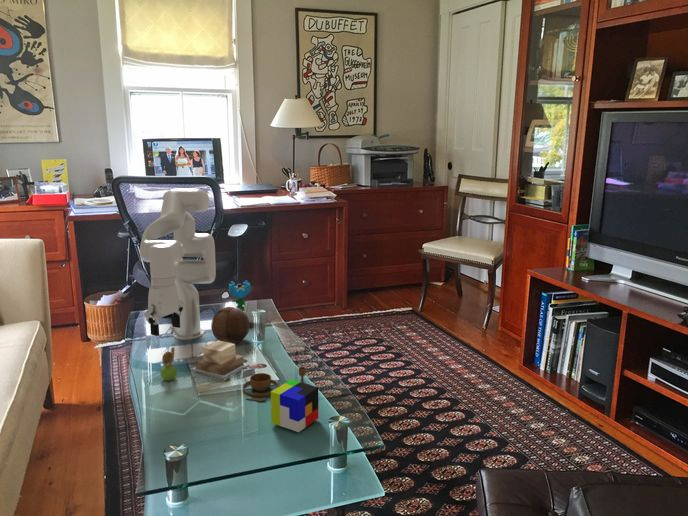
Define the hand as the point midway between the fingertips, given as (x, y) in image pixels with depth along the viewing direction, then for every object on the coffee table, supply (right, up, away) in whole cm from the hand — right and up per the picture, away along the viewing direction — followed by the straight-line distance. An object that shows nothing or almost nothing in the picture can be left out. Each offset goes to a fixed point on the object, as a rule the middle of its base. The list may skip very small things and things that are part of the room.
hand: (165, 331), depth 195 cm
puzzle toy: (+45, -24, -22) cm, 56 cm away
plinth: (+15, -15, +14) cm, 25 cm away
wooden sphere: (+14, -10, +39) cm, 43 cm away
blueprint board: (+15, -15, +14) cm, 26 cm away
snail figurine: (0, -18, +5) cm, 18 cm away
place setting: (+36, -20, -1) cm, 41 cm away
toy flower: (+14, -4, +65) cm, 67 cm away
